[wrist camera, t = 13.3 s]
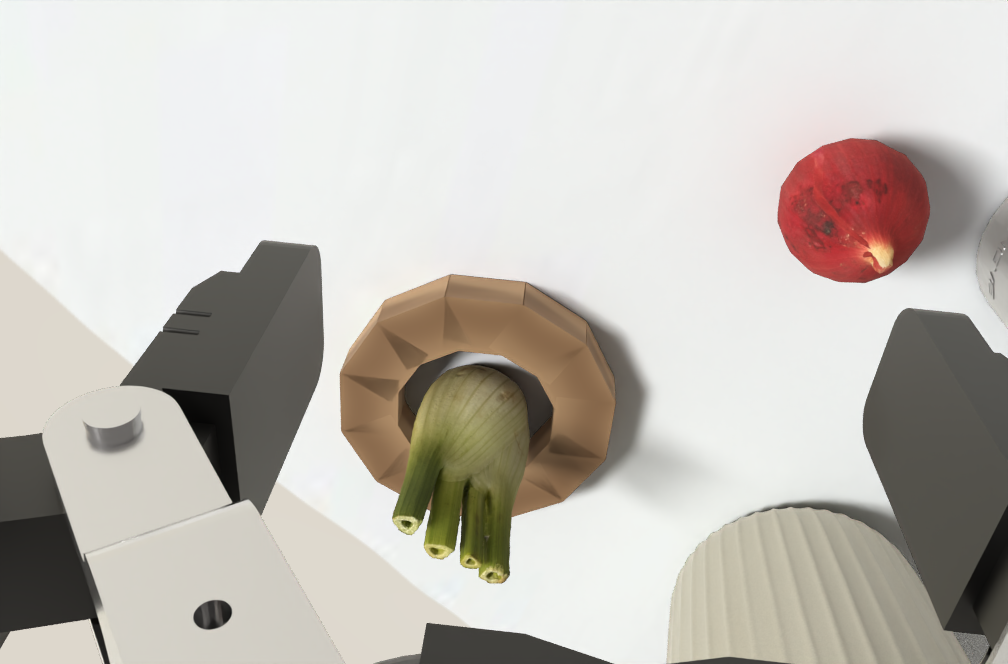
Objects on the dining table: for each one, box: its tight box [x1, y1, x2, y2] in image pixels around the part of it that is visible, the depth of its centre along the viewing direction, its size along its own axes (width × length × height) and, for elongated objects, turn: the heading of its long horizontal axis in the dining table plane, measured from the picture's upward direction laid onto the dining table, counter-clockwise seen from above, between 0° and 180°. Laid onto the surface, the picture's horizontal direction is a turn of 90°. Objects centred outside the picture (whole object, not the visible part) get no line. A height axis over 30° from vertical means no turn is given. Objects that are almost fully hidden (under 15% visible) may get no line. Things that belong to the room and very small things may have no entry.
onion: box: [778, 138, 930, 283], centre depth 37 cm, size 6×6×8 cm
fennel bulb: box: [392, 365, 530, 583], centre depth 43 cm, size 6×5×12 cm
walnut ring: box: [340, 275, 616, 517], centre depth 47 cm, size 14×14×2 cm
